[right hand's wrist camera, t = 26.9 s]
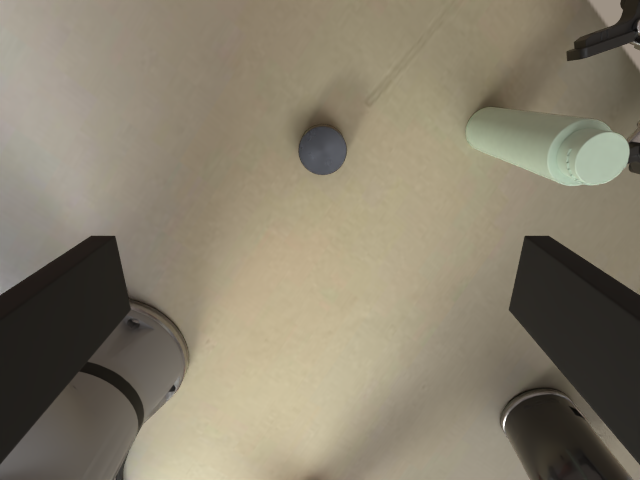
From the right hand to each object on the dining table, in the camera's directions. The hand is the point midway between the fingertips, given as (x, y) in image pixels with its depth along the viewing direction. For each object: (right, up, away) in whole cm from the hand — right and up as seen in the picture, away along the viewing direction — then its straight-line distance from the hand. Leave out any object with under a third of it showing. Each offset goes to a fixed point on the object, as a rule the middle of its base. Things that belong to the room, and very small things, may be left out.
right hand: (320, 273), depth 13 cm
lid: (0, +9, +23) cm, 25 cm away
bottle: (+16, +12, +24) cm, 31 cm away
